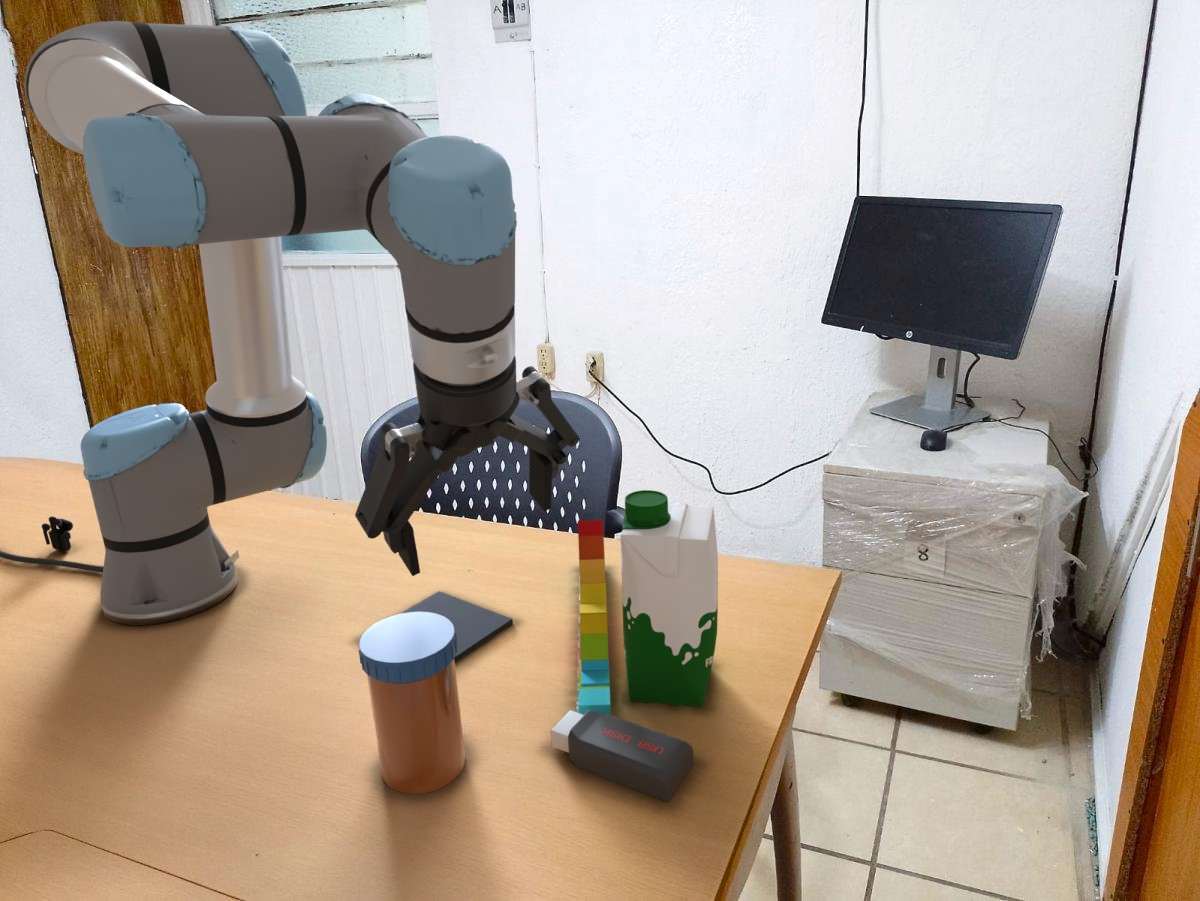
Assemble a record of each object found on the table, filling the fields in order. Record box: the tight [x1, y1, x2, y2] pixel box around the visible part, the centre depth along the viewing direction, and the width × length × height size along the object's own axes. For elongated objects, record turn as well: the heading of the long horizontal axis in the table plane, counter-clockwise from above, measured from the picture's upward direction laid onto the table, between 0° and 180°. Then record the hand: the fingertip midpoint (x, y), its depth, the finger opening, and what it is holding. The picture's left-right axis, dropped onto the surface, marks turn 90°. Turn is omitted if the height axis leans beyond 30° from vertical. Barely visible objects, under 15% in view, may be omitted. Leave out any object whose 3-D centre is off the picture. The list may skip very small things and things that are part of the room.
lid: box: [358, 612, 457, 683], centre depth 69 cm, size 8×8×2 cm
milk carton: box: [619, 489, 719, 708], centre depth 79 cm, size 9×9×20 cm
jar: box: [366, 660, 466, 795], centre depth 71 cm, size 7×7×13 cm
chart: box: [575, 519, 612, 716], centre depth 89 cm, size 30×3×15 cm, turn 1°
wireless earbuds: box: [41, 516, 74, 553], centre depth 117 cm, size 7×2×5 cm, turn 59°
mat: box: [399, 590, 514, 663], centre depth 93 cm, size 12×12×1 cm
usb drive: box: [550, 710, 695, 803], centre depth 72 cm, size 5×12×3 cm, turn 60°
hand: (477, 531), depth 76 cm, fingers open, 13 cm apart
